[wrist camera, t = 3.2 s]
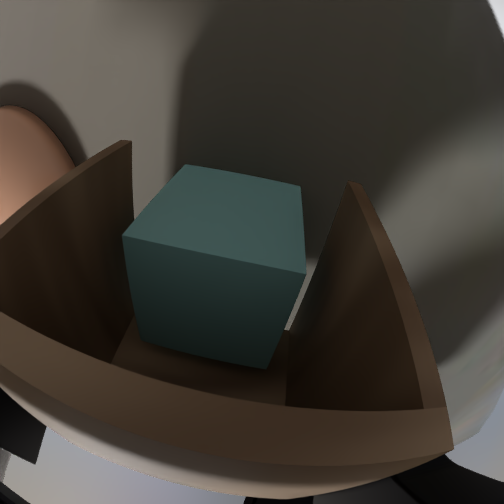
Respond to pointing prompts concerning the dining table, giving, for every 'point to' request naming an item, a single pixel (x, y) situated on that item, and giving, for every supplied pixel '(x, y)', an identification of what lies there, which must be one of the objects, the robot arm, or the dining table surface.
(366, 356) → the brown wooden open box
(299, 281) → the block
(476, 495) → the robot arm
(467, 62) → the dining table surface
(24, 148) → the dish
